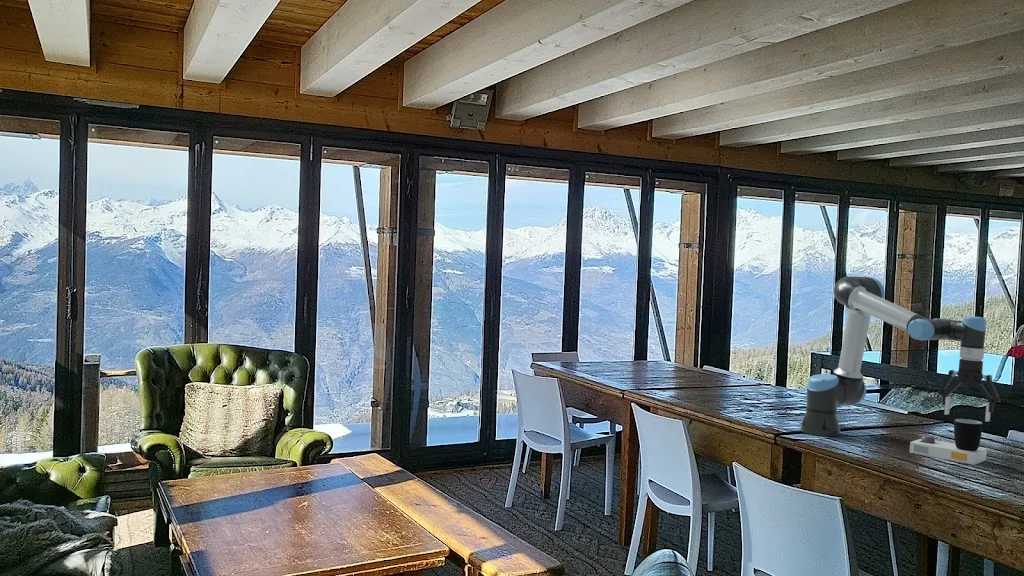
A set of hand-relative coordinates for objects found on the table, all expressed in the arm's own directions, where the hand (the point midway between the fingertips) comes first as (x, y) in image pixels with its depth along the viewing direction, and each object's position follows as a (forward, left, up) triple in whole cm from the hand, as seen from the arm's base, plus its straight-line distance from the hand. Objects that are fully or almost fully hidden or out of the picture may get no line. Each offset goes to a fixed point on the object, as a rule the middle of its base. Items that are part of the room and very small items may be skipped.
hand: (966, 417), depth 305 cm
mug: (0, 0, -11) cm, 11 cm away
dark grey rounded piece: (-13, 0, -12) cm, 18 cm away
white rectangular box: (-6, 0, -15) cm, 16 cm away
